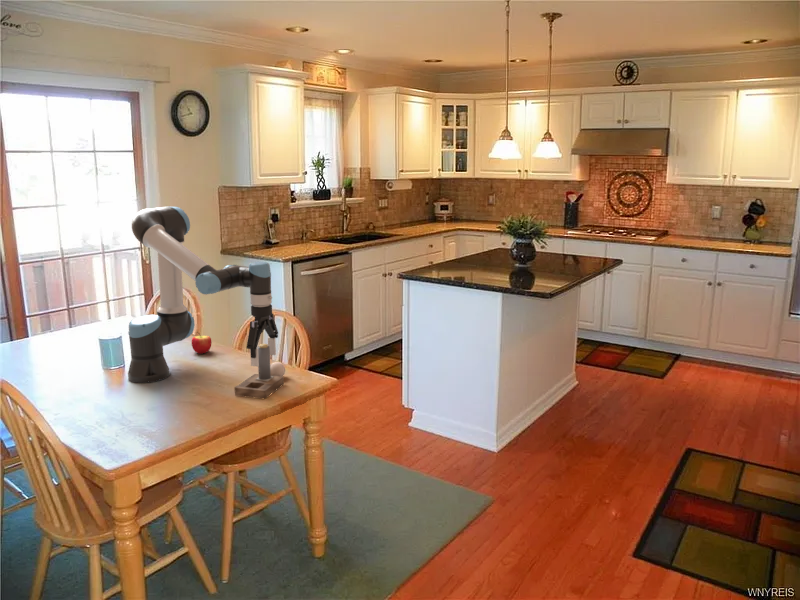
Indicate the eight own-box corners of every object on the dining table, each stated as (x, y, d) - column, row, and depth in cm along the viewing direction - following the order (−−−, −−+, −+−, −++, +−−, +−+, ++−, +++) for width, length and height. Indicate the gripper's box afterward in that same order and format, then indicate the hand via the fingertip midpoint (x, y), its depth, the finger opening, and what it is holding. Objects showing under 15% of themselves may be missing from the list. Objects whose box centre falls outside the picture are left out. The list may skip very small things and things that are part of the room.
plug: (256, 379, 238) (255, 346, 235) (262, 375, 242) (260, 342, 239) (267, 380, 237) (266, 347, 234) (272, 376, 241) (271, 343, 238)
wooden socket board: (235, 395, 231) (234, 386, 230) (255, 381, 245) (254, 373, 244) (265, 398, 228) (264, 390, 227) (283, 384, 242) (283, 376, 241)
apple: (188, 353, 278) (186, 330, 276) (205, 348, 284) (204, 327, 282) (198, 357, 273) (196, 334, 270) (215, 352, 279) (214, 330, 276)
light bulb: (257, 372, 241) (283, 359, 246) (253, 370, 247) (278, 358, 252) (264, 387, 242) (290, 375, 247) (259, 385, 248) (284, 373, 253)
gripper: (254, 313, 220) (256, 371, 225) (285, 297, 243) (287, 351, 248) (234, 311, 222) (237, 369, 227) (267, 296, 245) (270, 349, 250)
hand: (263, 360), depth 238 cm, fingers open, 13 cm apart
